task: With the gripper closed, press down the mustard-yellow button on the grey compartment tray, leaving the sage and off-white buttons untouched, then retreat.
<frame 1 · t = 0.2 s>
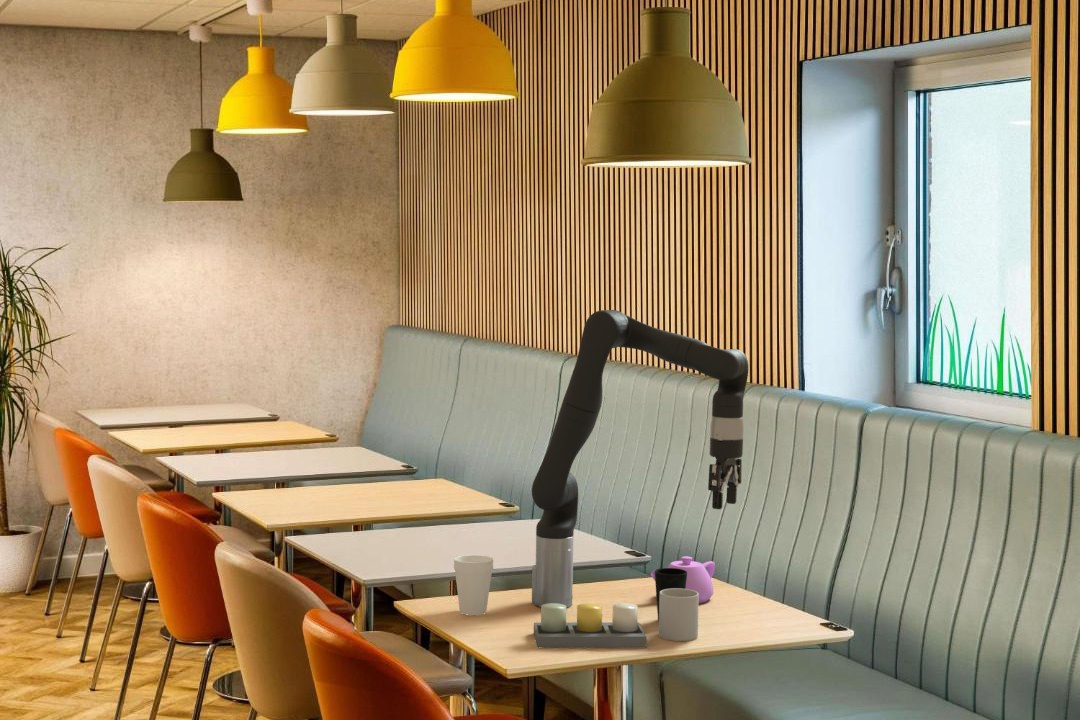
hand: (724, 506, 315), 29 cm above the table, fingers open, 8 cm apart
sage button: (553, 617, 305), point 5 cm above the table, slide at 0.0 cm
mug: (681, 636, 311), on the table
mustard button: (589, 617, 305), point 5 cm above the table, slide at 0.0 cm
teapot: (683, 599, 346), on the table
grey compartment tray: (589, 640, 306), on the table
offwhite button: (625, 617, 306), point 5 cm above the table, slide at 0.0 cm
cup: (669, 622, 323), on the table
foam cup: (472, 613, 329), on the table
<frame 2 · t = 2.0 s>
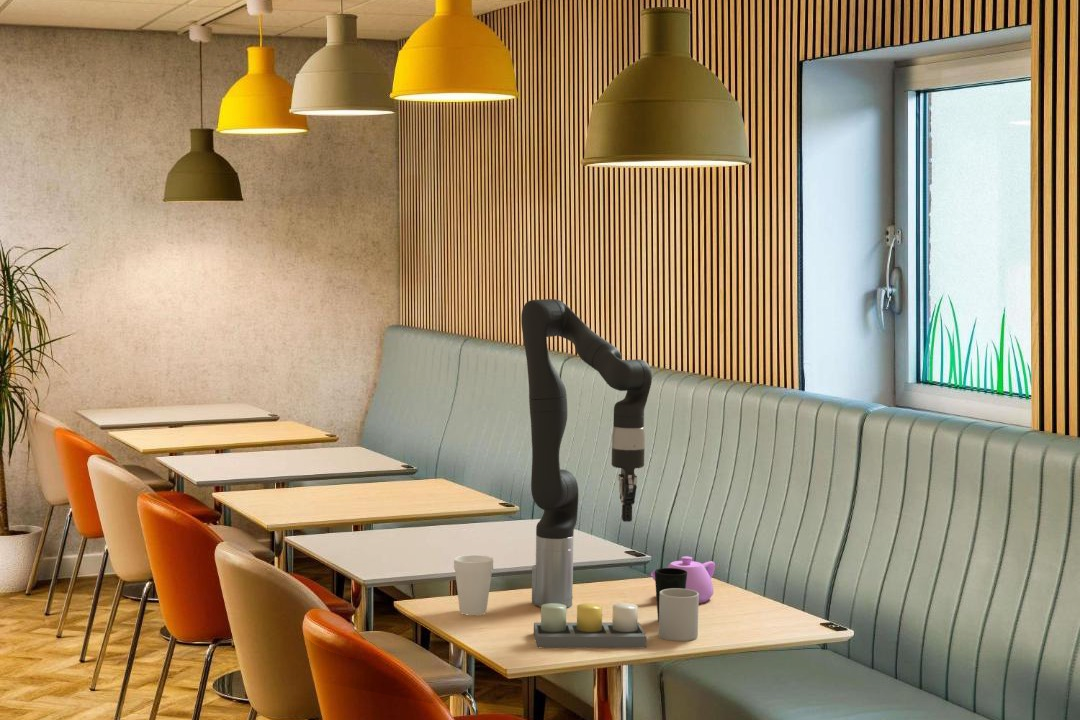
hand: (626, 520, 316), 25 cm above the table, fingers closed
nothing on the table moved.
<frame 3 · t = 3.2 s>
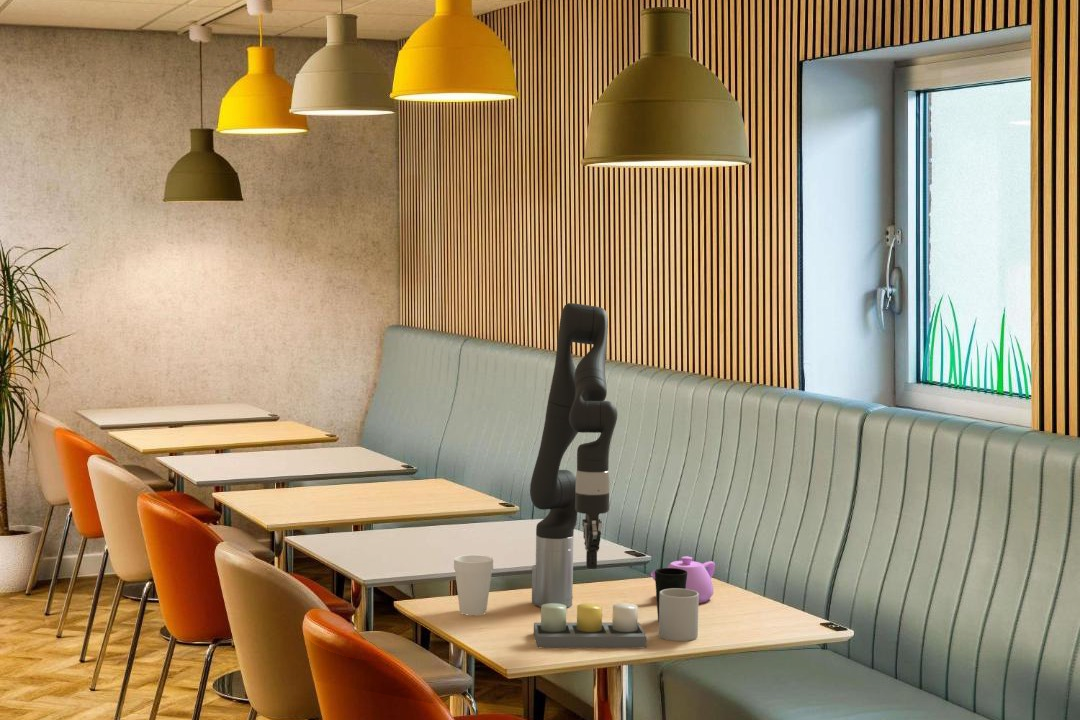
hand: (591, 567, 305), 16 cm above the table, fingers closed
nothing on the table moved.
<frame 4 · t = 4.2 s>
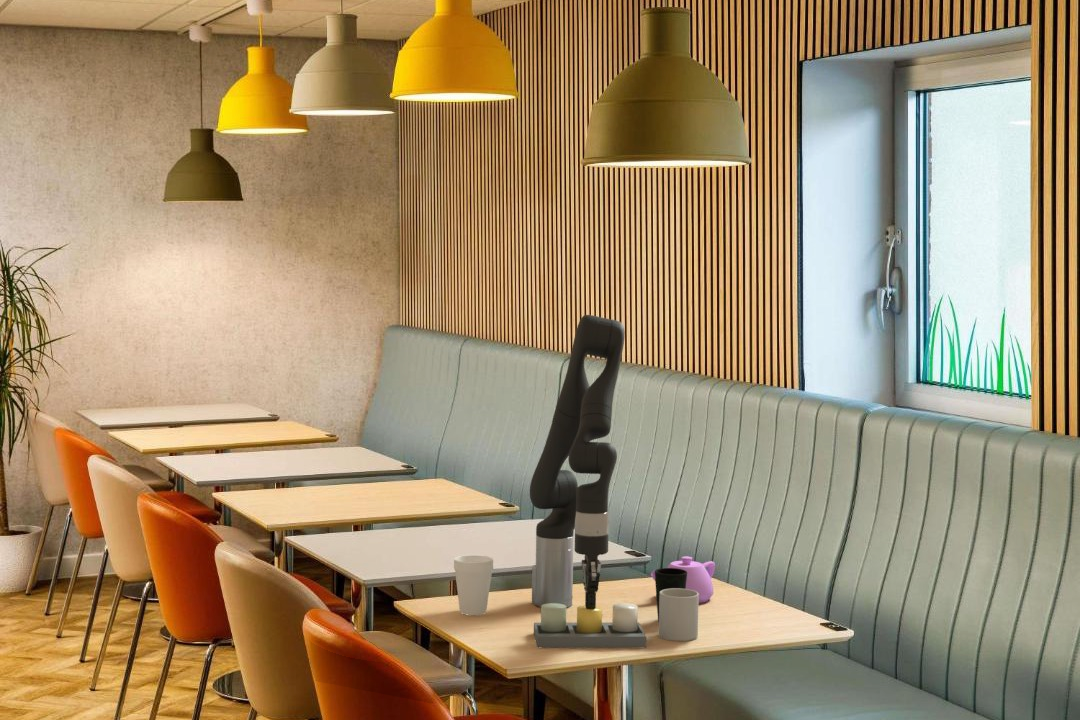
hand: (590, 608, 305), 7 cm above the table, fingers closed
mustard button: (589, 619, 305), point 5 cm above the table, slide at 0.5 cm, touching gripper
everything else where it was.
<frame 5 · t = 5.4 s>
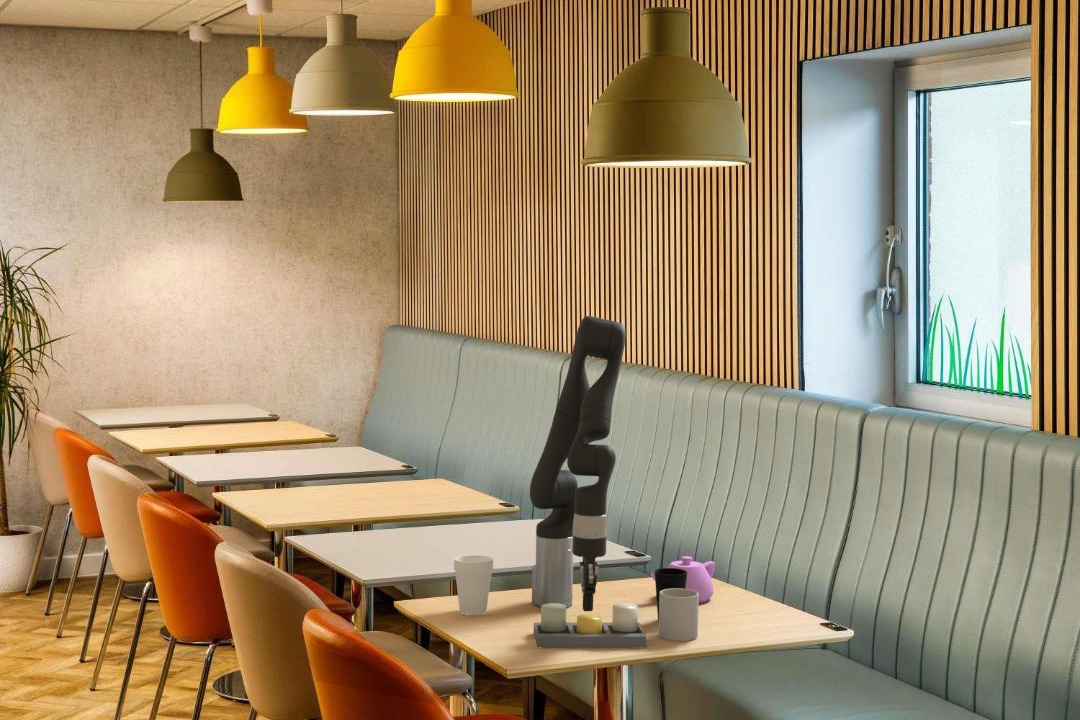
hand: (587, 610, 305), 7 cm above the table, fingers closed
mustard button: (589, 628, 305), point 3 cm above the table, slide at 2.5 cm
everything else where it was.
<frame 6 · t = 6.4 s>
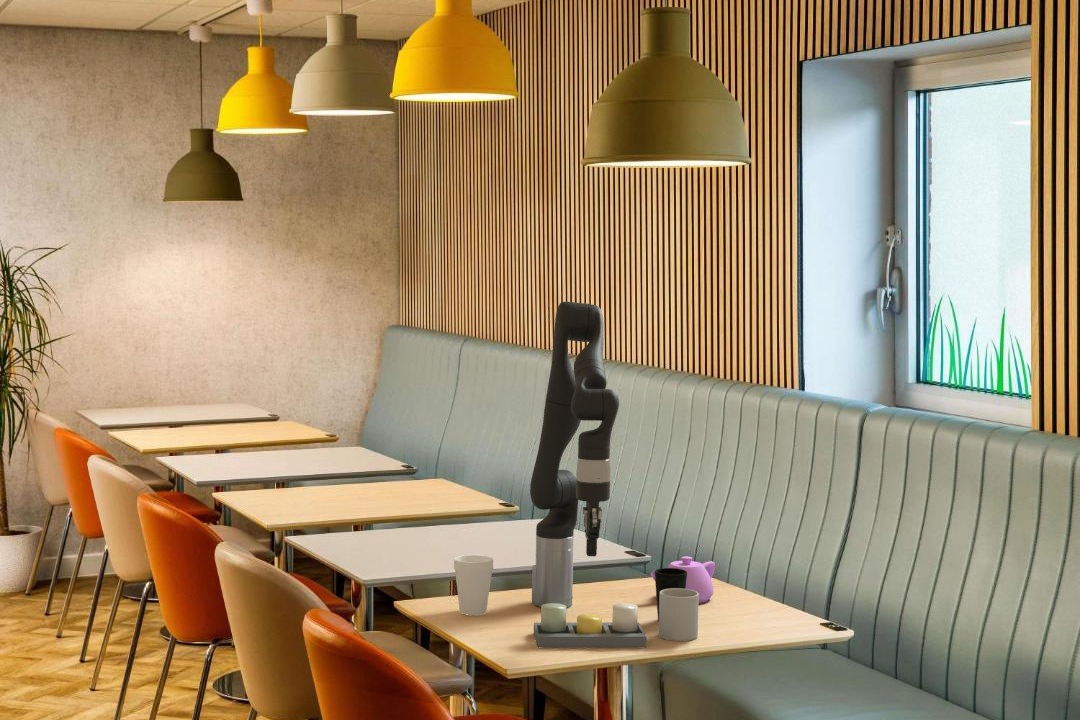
hand: (591, 555, 305), 19 cm above the table, fingers closed
nothing on the table moved.
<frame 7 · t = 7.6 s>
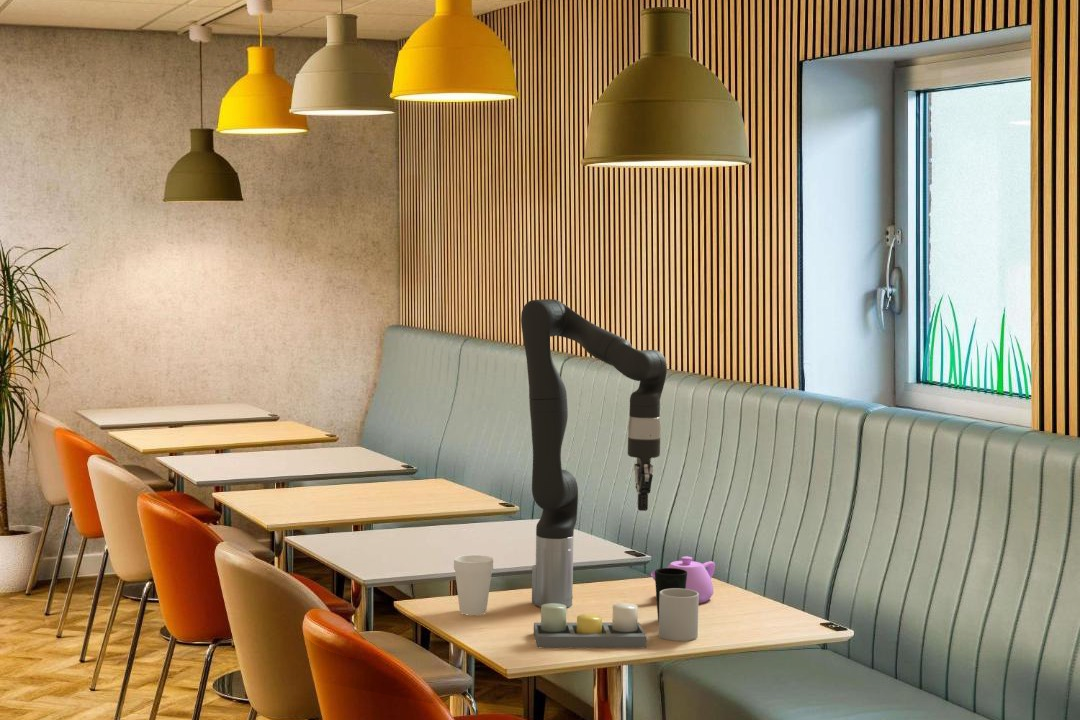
hand: (642, 509, 319), 27 cm above the table, fingers closed
nothing on the table moved.
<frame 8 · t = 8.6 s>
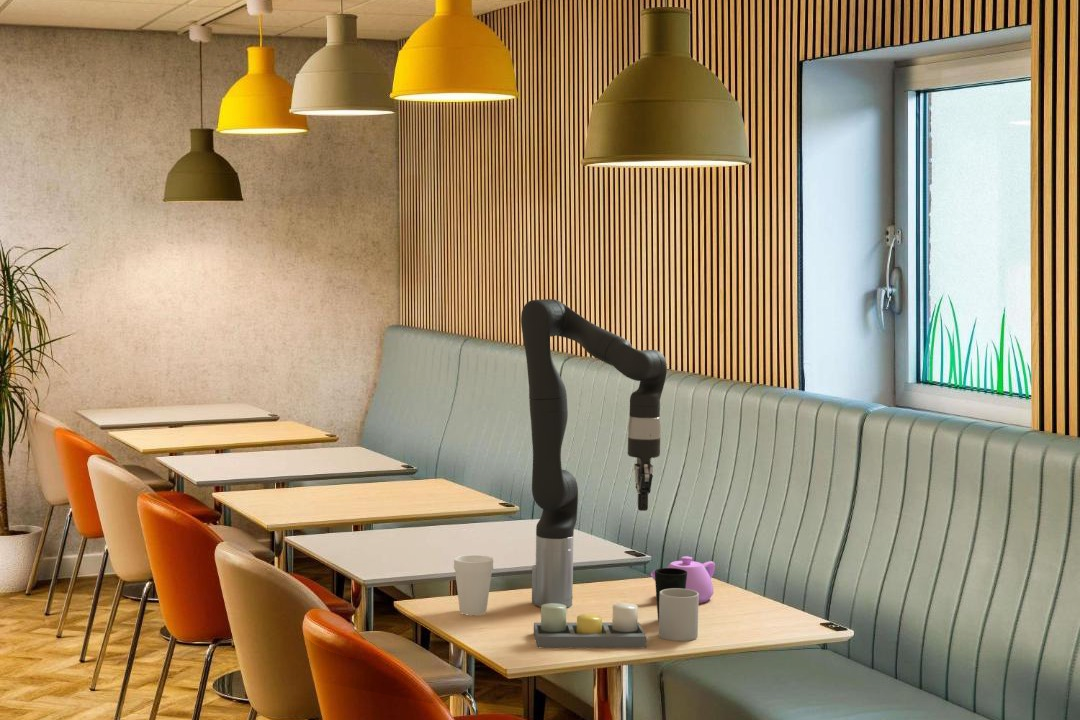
hand: (642, 509, 319), 27 cm above the table, fingers closed
nothing on the table moved.
at the end: mustard button slide at 2.5 cm; sage button slide at 0.0 cm; offwhite button slide at 0.0 cm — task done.
